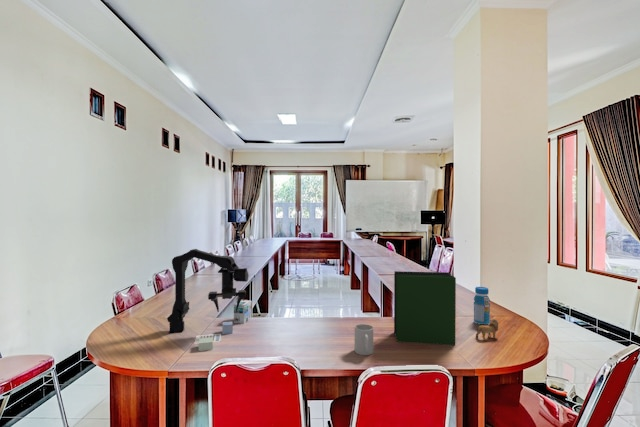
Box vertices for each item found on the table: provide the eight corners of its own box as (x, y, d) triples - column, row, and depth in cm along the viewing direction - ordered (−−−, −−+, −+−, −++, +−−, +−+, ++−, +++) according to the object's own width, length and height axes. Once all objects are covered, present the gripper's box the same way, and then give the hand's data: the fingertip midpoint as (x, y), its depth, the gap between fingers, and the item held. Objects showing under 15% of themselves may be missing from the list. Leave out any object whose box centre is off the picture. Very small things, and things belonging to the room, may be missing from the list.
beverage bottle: (473, 324, 189) (474, 288, 189) (473, 319, 197) (473, 285, 197) (490, 326, 186) (490, 290, 186) (489, 321, 194) (489, 286, 194)
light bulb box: (244, 324, 188) (244, 305, 188) (233, 323, 189) (233, 304, 189) (252, 318, 198) (252, 300, 198) (241, 317, 200) (241, 299, 200)
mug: (353, 347, 156) (353, 324, 156) (371, 347, 156) (371, 323, 156) (357, 359, 144) (357, 333, 144) (376, 358, 144) (376, 333, 144)
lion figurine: (491, 334, 174) (491, 316, 174) (501, 337, 169) (501, 319, 169) (472, 339, 167) (472, 321, 167) (482, 342, 162) (482, 324, 162)
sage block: (198, 352, 151) (198, 343, 151) (199, 347, 156) (199, 338, 156) (212, 350, 152) (212, 341, 152) (212, 345, 158) (212, 337, 158)
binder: (396, 342, 162) (396, 276, 162) (393, 331, 177) (394, 270, 177) (455, 345, 159) (455, 277, 159) (447, 334, 174) (447, 272, 173)
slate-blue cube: (222, 335, 171) (222, 325, 171) (222, 331, 176) (222, 322, 176) (232, 334, 173) (232, 324, 173) (232, 330, 177) (232, 321, 177)
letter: (193, 344, 159) (193, 343, 159) (196, 336, 169) (196, 335, 169) (220, 342, 162) (220, 341, 162) (221, 334, 172) (221, 333, 172)
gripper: (207, 285, 164) (207, 317, 164) (246, 283, 169) (246, 314, 169) (209, 280, 175) (209, 310, 175) (245, 279, 180) (245, 308, 180)
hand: (227, 311), depth 174 cm, fingers open, 9 cm apart
